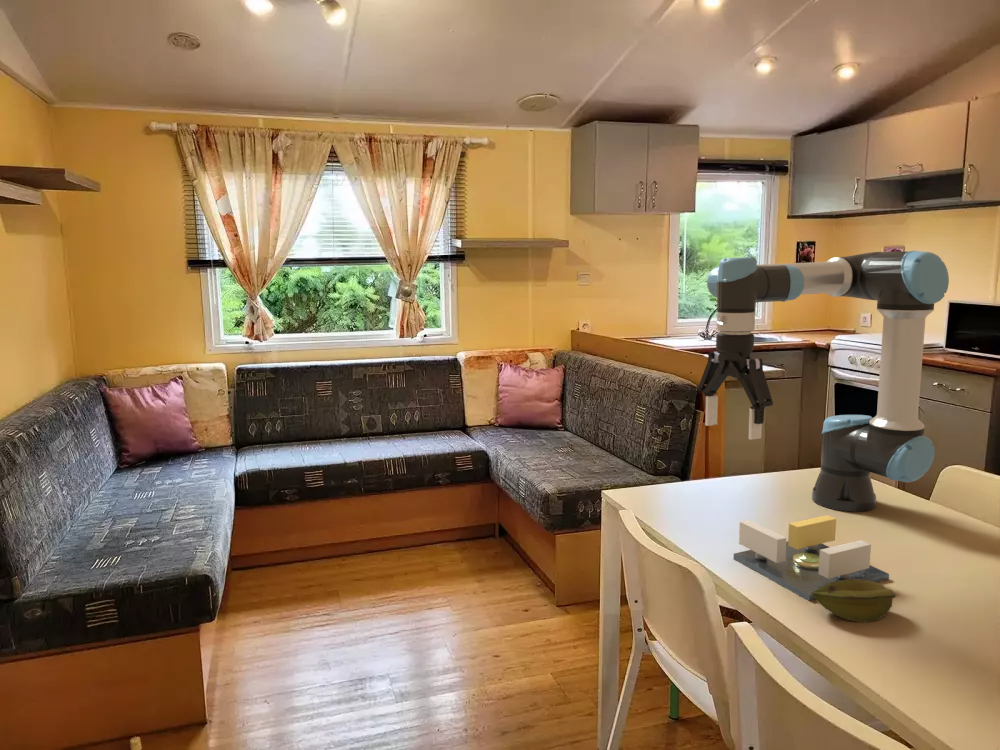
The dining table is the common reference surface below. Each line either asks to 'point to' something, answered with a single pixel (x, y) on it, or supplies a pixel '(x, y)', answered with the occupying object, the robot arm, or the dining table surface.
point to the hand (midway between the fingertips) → (732, 431)
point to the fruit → (855, 599)
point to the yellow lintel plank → (811, 532)
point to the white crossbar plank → (762, 541)
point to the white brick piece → (844, 559)
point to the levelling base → (801, 570)
